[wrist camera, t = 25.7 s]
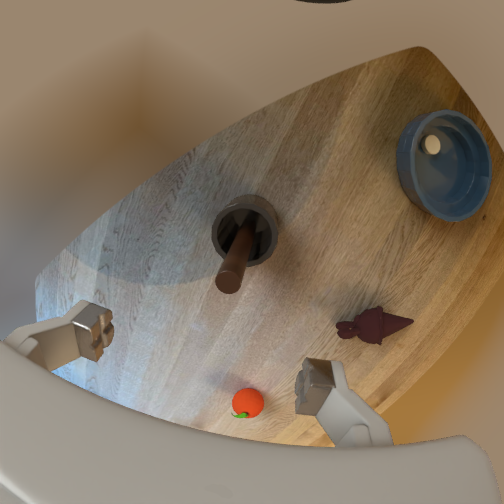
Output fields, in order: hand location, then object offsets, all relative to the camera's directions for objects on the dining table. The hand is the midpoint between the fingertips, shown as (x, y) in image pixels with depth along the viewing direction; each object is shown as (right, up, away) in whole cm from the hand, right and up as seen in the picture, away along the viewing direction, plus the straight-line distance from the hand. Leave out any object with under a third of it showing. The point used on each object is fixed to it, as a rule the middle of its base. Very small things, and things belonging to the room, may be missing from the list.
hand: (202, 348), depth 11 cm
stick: (+1, +8, +34) cm, 35 cm away
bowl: (+34, +19, +28) cm, 47 cm away
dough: (+31, +21, +26) cm, 46 cm away
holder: (+2, +9, +34) cm, 35 cm away
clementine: (+1, -28, +48) cm, 55 cm away
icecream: (+24, -8, +38) cm, 46 cm away
